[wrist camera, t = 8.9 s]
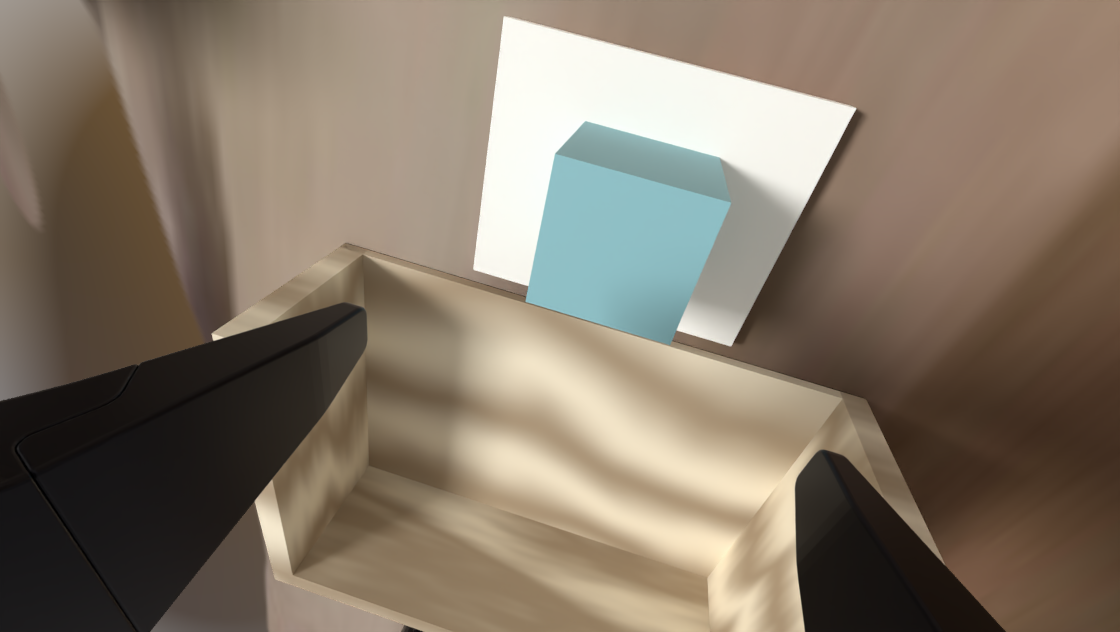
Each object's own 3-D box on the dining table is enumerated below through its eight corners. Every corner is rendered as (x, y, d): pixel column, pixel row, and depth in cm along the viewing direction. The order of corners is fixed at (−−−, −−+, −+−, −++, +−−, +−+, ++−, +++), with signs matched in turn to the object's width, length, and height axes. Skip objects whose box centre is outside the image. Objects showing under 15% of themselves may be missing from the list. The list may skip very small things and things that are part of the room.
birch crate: (718, 585, 31) (727, 738, 25) (356, 465, 33) (274, 579, 26) (866, 399, 22) (947, 568, 15) (345, 243, 23) (211, 333, 17)
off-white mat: (730, 338, 22) (731, 346, 21) (478, 264, 22) (473, 269, 22) (850, 105, 16) (856, 108, 15) (509, 16, 17) (503, 16, 16)
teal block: (672, 276, 20) (670, 345, 16) (557, 243, 20) (525, 301, 16) (719, 157, 17) (731, 202, 13) (585, 120, 17) (554, 153, 13)
